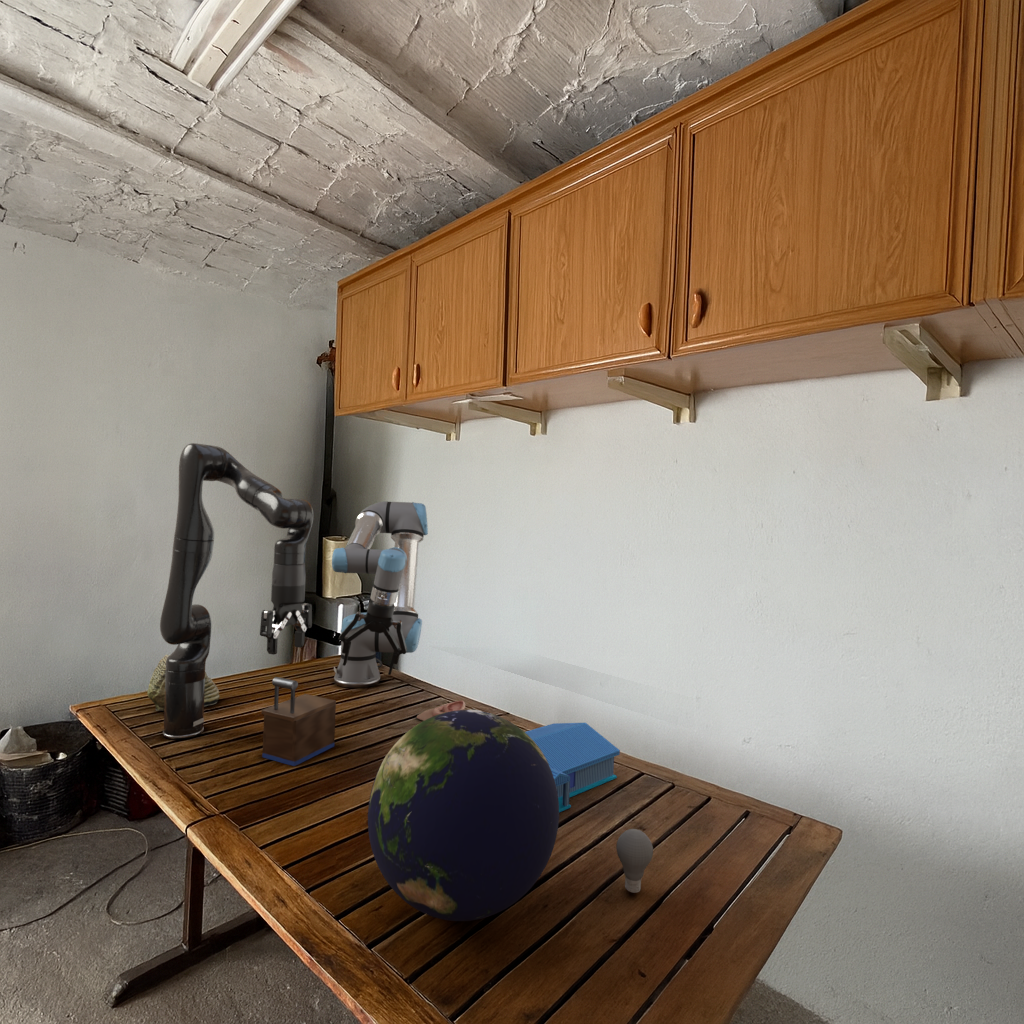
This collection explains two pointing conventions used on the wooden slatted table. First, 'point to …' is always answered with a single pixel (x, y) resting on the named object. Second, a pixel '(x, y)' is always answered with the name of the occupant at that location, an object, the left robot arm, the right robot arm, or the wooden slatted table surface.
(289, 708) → the lid
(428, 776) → the globe
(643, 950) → the wooden slatted table surface
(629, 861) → the light bulb
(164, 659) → the fossil
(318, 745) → the chest
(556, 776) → the model building
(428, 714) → the anatomical model
